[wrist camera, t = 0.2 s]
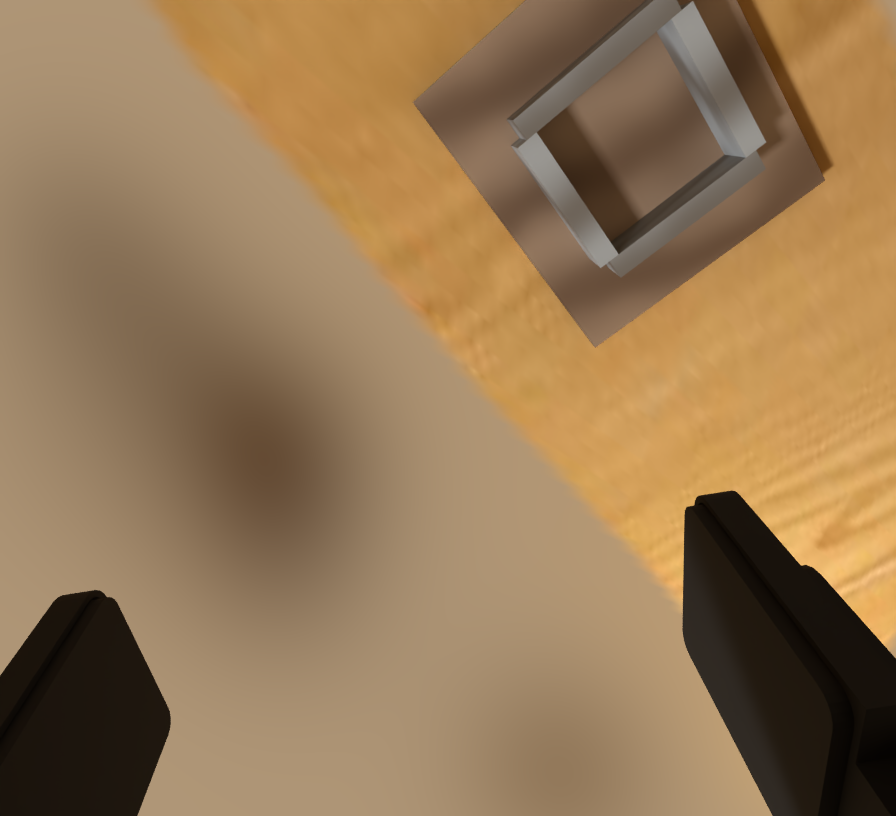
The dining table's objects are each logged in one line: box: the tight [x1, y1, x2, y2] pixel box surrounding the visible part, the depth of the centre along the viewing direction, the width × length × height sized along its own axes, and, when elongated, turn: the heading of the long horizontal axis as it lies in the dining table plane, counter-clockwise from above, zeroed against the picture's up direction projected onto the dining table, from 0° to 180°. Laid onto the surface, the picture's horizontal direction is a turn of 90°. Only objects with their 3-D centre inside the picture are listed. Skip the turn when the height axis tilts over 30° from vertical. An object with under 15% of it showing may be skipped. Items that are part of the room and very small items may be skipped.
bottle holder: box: [413, 0, 825, 347], centre depth 35 cm, size 18×16×4 cm
